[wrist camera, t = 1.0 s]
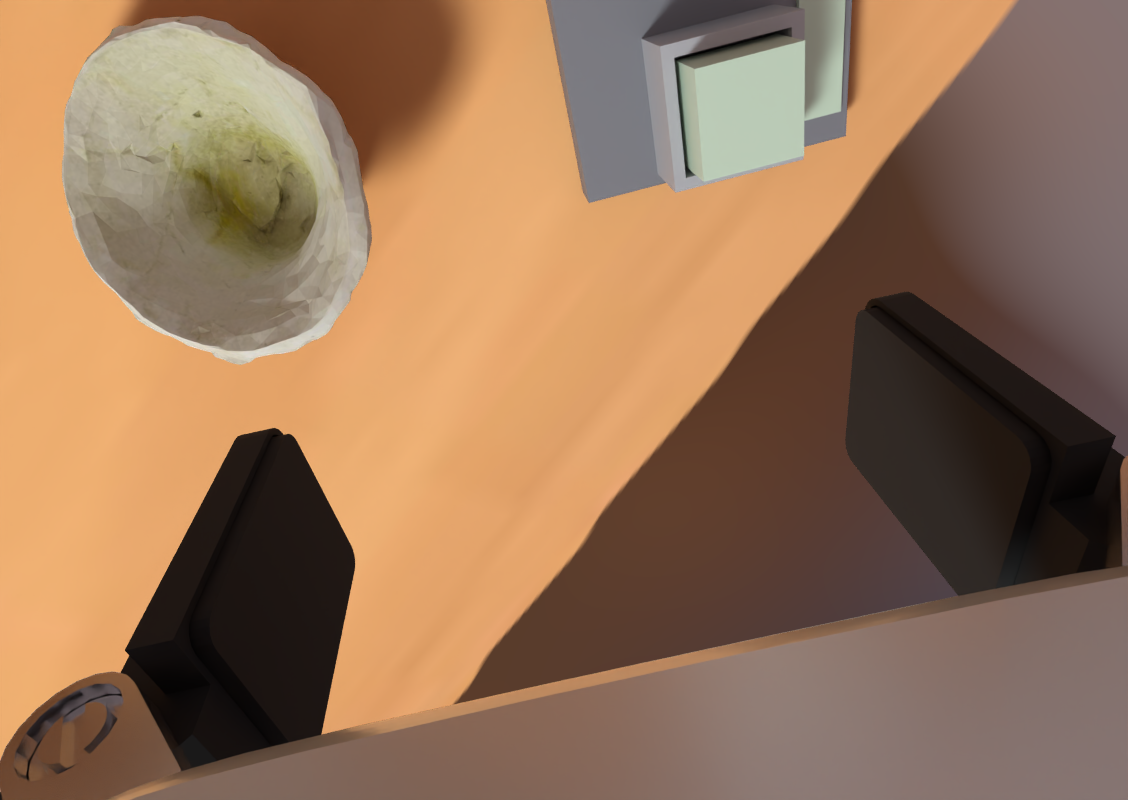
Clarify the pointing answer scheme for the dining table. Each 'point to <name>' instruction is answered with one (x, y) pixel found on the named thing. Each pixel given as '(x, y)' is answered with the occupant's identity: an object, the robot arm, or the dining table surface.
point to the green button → (742, 106)
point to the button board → (649, 84)
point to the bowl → (214, 188)
